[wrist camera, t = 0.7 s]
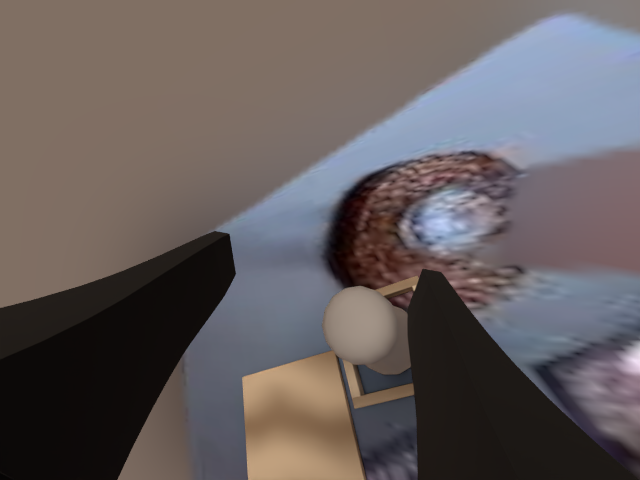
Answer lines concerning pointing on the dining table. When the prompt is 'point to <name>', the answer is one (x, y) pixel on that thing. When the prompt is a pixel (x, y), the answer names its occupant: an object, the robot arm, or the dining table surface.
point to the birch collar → (352, 370)
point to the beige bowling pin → (367, 330)
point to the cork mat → (300, 423)
